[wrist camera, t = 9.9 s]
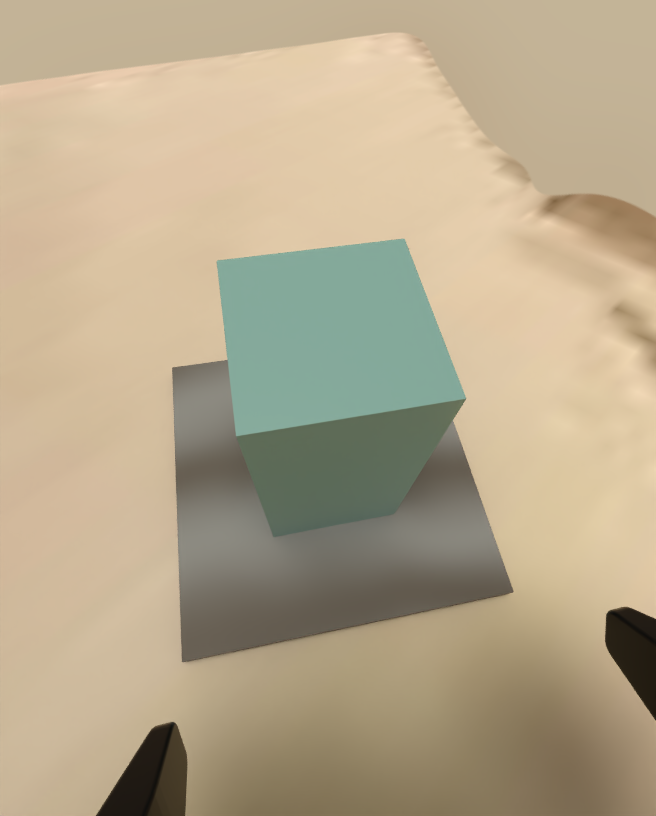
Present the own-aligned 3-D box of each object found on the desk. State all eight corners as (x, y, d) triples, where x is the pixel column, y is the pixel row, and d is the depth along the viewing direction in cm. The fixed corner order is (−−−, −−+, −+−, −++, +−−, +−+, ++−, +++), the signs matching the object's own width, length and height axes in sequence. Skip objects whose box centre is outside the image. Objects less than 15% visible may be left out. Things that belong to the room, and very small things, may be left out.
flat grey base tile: (508, 593, 20) (558, 580, 16) (185, 661, 18) (149, 666, 14) (419, 339, 26) (439, 283, 22) (175, 373, 25) (147, 320, 20)
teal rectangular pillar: (393, 514, 21) (466, 399, 11) (273, 537, 20) (236, 436, 10) (366, 408, 23) (404, 238, 13) (258, 426, 23) (216, 260, 13)
